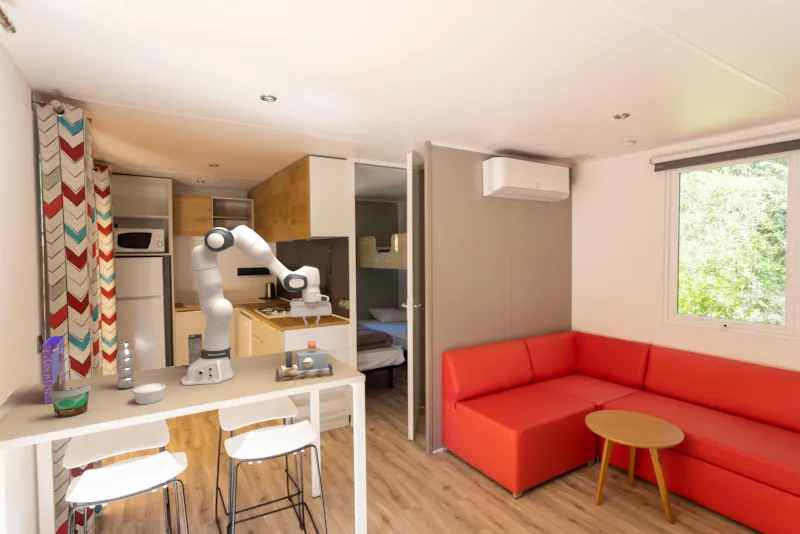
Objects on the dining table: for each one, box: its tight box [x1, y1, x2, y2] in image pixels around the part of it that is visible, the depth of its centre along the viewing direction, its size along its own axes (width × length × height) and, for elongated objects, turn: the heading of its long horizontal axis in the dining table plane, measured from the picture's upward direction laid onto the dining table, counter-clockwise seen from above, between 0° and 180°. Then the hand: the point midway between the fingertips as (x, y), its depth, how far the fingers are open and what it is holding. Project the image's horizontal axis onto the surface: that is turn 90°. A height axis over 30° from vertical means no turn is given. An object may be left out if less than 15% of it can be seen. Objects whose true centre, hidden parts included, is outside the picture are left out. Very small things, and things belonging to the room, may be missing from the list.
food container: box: [49, 383, 92, 419], centre depth 150 cm, size 12×6×10 cm, turn 126°
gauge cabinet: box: [296, 349, 328, 371], centre depth 206 cm, size 14×9×9 cm, turn 111°
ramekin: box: [132, 383, 166, 405], centre depth 165 cm, size 11×11×5 cm
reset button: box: [307, 340, 317, 350], centre depth 206 cm, size 4×4×3 cm
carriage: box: [280, 351, 298, 377], centre depth 193 cm, size 7×6×11 cm
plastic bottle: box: [116, 341, 136, 389], centre depth 180 cm, size 6×7×20 cm
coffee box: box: [187, 333, 203, 367], centre depth 214 cm, size 9×6×16 cm
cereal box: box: [42, 335, 66, 405], centre depth 169 cm, size 17×5×24 cm, turn 34°
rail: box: [275, 363, 334, 383], centre depth 196 cm, size 26×7×4 cm, turn 111°
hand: (311, 324), depth 206 cm, fingers open, 3 cm apart
